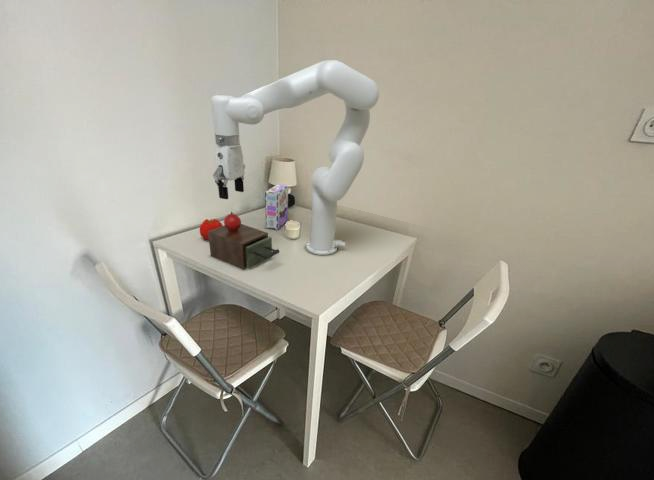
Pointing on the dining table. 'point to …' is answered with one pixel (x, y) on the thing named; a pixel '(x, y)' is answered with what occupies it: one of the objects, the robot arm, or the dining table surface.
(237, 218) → the apple
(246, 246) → the drawer
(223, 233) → the cabinet
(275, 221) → the candy box
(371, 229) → the dining table surface
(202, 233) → the tomato
